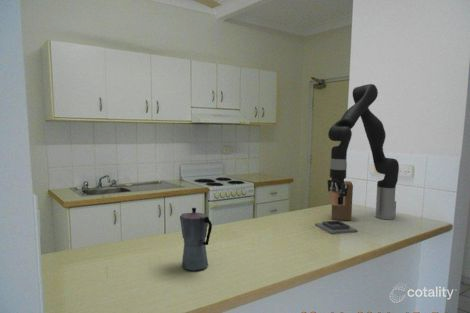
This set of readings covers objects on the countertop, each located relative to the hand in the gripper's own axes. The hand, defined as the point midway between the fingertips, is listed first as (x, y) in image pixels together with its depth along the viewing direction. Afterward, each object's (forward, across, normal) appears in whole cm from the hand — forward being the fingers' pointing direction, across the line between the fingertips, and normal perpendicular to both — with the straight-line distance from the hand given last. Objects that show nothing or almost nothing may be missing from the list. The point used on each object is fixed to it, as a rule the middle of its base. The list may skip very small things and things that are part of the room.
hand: (336, 202), depth 151 cm
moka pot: (+13, -27, +72) cm, 78 cm away
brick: (+1, 0, 0) cm, 1 cm away
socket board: (+13, 0, 0) cm, 13 cm away
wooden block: (+13, +16, -14) cm, 25 cm away
